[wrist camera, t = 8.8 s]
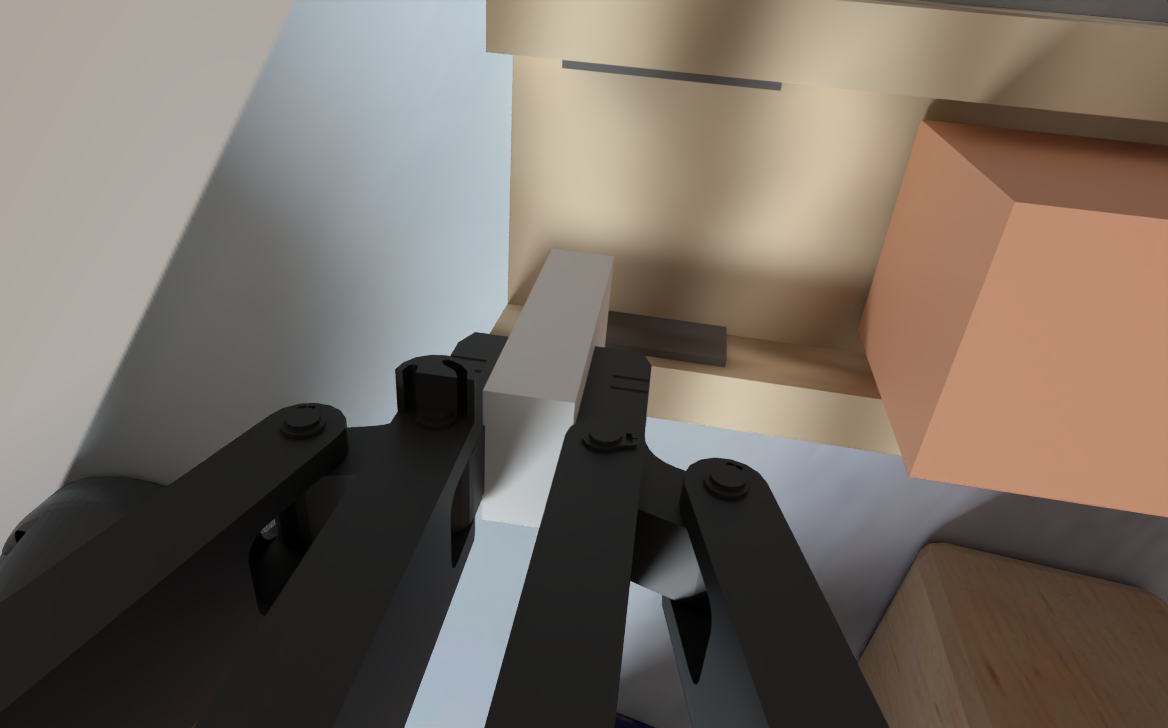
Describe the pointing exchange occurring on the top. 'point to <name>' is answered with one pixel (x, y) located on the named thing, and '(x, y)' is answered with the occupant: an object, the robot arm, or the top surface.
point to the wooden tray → (773, 171)
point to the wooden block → (1017, 647)
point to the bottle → (628, 722)
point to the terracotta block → (1027, 315)
